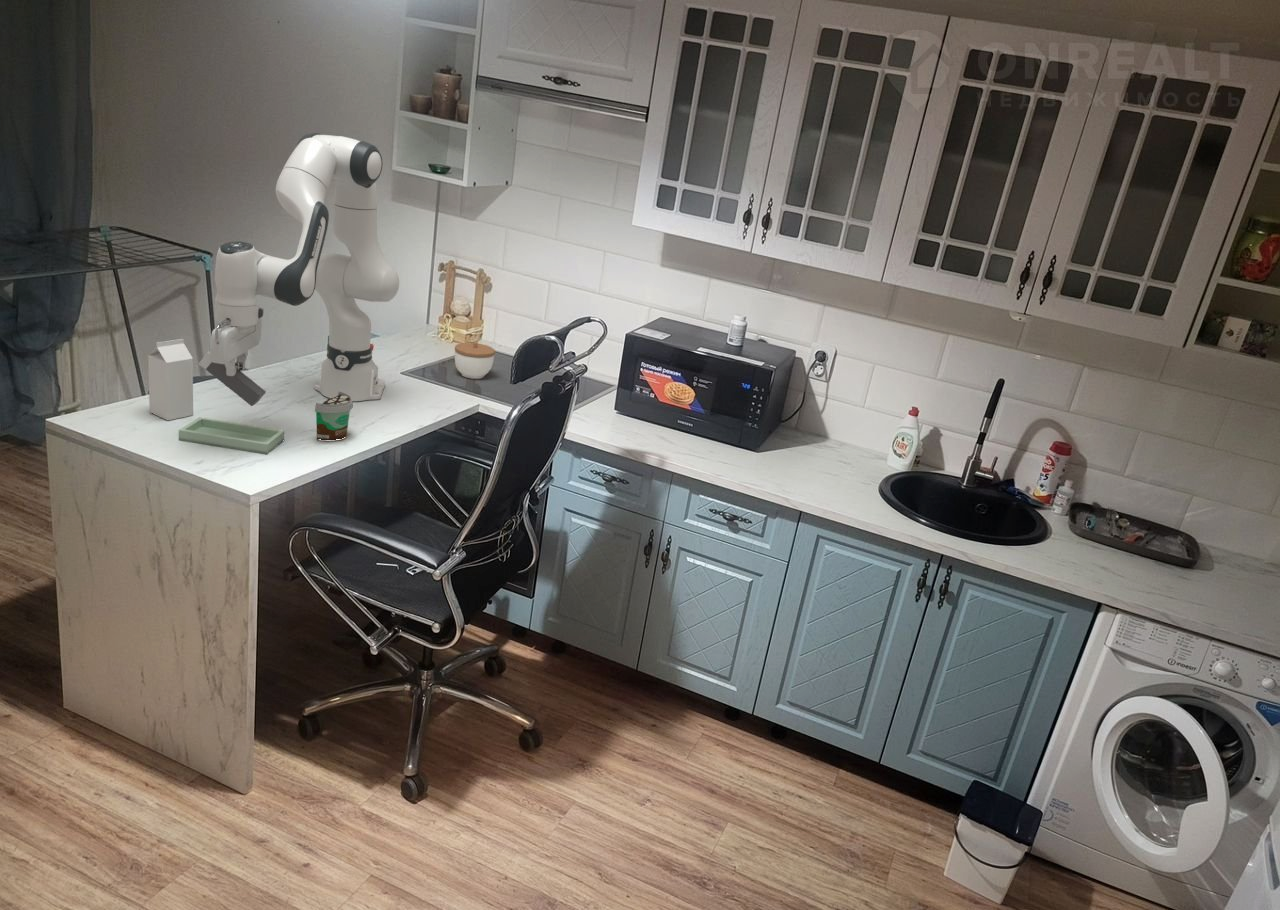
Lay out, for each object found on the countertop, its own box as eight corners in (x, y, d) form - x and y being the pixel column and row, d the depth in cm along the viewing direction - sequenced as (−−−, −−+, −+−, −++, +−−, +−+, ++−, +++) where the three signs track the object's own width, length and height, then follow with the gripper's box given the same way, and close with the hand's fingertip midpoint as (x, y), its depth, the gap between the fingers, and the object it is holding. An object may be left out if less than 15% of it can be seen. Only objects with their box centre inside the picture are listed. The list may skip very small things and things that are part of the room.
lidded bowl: (445, 371, 306) (447, 337, 303) (478, 368, 315) (481, 336, 311) (466, 383, 298) (469, 349, 294) (499, 379, 307) (503, 346, 303)
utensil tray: (199, 426, 233) (199, 417, 232) (284, 440, 233) (284, 430, 232) (178, 440, 224) (178, 430, 223) (267, 454, 224) (267, 444, 223)
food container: (336, 447, 235) (338, 408, 231) (313, 441, 235) (315, 403, 232) (360, 432, 246) (362, 395, 242) (338, 427, 247) (339, 390, 243)
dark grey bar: (257, 402, 227) (266, 391, 226) (251, 406, 223) (260, 395, 222) (205, 359, 223) (214, 348, 222) (198, 363, 220) (207, 352, 219)
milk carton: (193, 415, 239) (192, 342, 233) (167, 421, 233) (165, 346, 227) (175, 407, 242) (174, 335, 236) (149, 413, 236) (147, 339, 230)
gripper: (230, 326, 208) (230, 386, 213) (266, 307, 227) (265, 363, 232) (201, 322, 208) (202, 382, 213) (240, 303, 227) (239, 359, 232)
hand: (235, 372), depth 222 cm, fingers closed on dark grey bar, 3 cm apart
